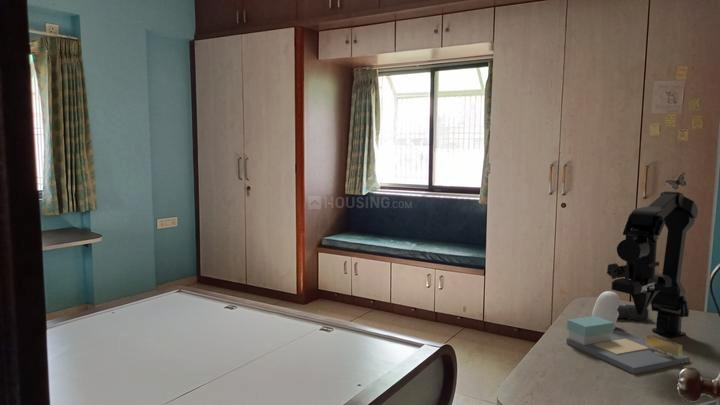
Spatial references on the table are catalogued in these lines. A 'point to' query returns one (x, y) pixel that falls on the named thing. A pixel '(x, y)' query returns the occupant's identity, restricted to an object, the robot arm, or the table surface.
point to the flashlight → (632, 313)
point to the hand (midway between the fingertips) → (640, 314)
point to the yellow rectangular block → (664, 345)
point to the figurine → (607, 307)
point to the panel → (624, 351)
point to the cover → (590, 326)
